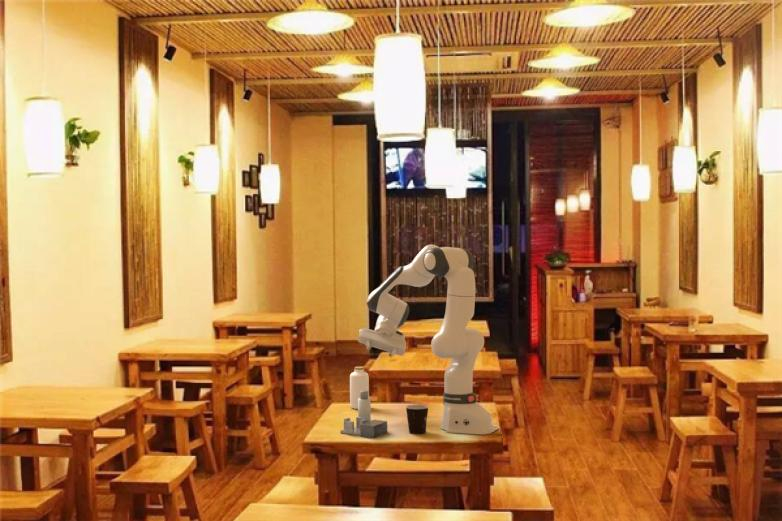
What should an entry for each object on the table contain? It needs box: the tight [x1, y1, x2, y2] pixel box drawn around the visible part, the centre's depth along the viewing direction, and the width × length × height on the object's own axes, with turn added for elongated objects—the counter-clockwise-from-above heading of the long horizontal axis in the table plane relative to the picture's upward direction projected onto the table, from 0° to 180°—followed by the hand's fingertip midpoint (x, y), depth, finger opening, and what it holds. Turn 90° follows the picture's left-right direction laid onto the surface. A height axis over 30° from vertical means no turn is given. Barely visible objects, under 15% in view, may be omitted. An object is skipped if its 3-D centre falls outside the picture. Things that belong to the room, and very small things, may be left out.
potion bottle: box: [349, 366, 370, 410], centre depth 388 cm, size 8×8×18 cm
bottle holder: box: [340, 416, 388, 439], centre depth 339 cm, size 16×10×5 cm, turn 60°
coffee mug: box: [405, 404, 429, 435], centre depth 338 cm, size 12×9×10 cm
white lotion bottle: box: [357, 391, 372, 422], centre depth 352 cm, size 5×5×14 cm
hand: (379, 351), depth 359 cm, fingers open, 8 cm apart
